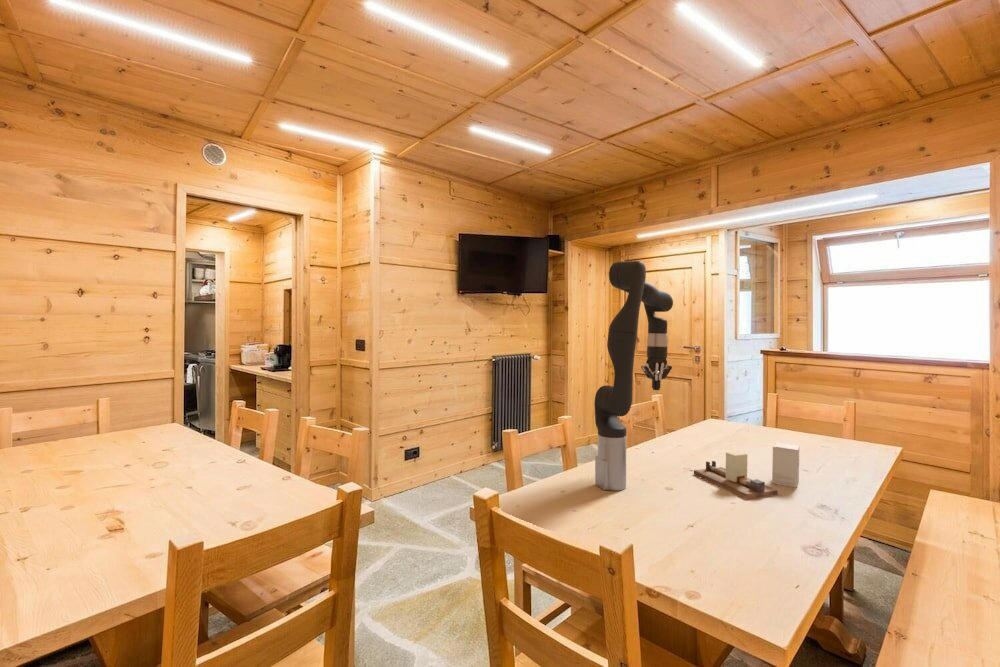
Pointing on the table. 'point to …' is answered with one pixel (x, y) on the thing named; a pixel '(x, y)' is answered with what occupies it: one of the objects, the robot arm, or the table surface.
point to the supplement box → (785, 464)
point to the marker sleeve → (736, 465)
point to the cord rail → (740, 487)
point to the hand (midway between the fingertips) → (656, 390)
